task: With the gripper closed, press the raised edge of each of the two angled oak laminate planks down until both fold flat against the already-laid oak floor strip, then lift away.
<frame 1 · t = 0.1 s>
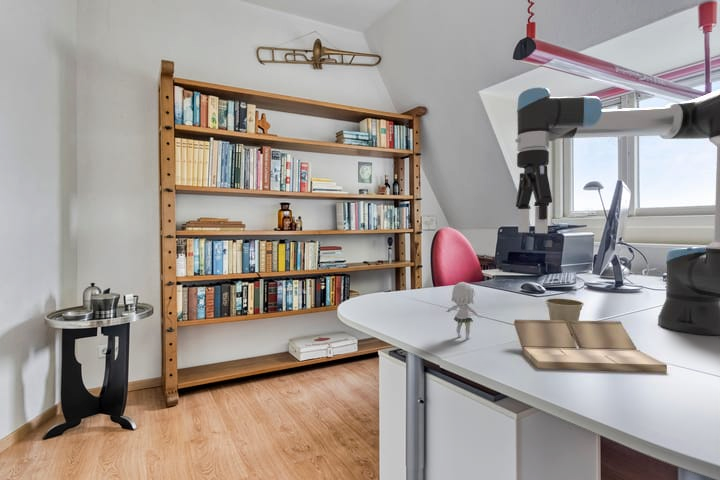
hand: (531, 233, 98), 28 cm above the table, fingers open, 13 cm apart
flower pot: (563, 333, 104), on the table
plank a: (600, 335, 89), point 3 cm above the table, hinge at 35.0°
plank b: (543, 334, 90), point 3 cm above the table, hinge at 35.0°
figurine: (462, 339, 99), on the table
floor strip: (590, 362, 81), on the table
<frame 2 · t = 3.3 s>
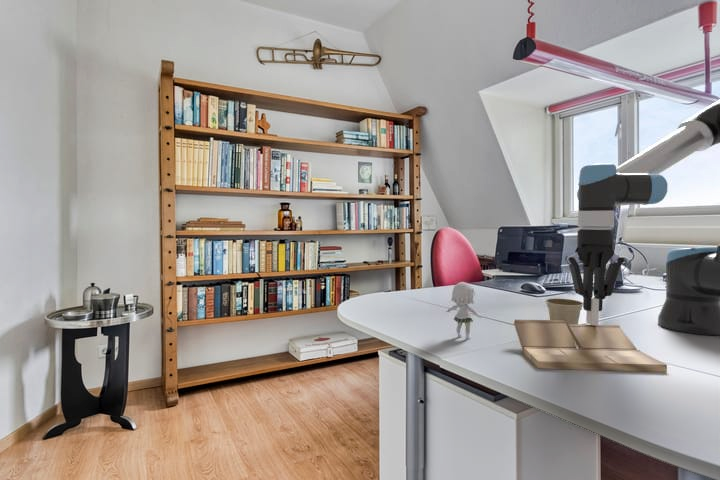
hand: (592, 323, 93), 5 cm above the table, fingers closed
plank a: (600, 338, 89), point 3 cm above the table, hinge at 26.1°, touching gripper
everything else where it was.
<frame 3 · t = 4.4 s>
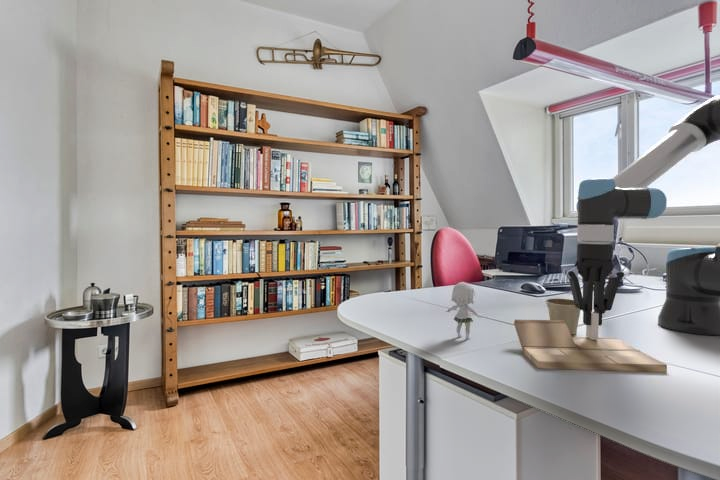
hand: (592, 338, 92), 2 cm above the table, fingers closed
plank a: (599, 345, 90), point 1 cm above the table, hinge at 1.8°, touching gripper
everything else where it was.
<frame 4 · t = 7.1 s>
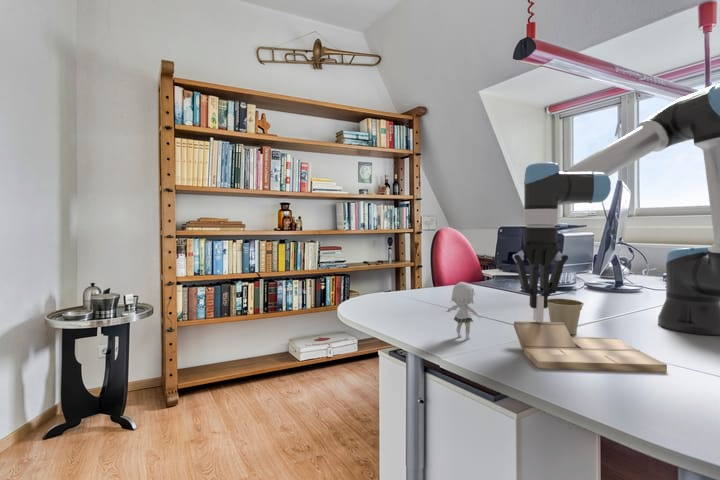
hand: (538, 320, 94), 6 cm above the table, fingers closed
plank a: (599, 345, 90), point 1 cm above the table, hinge at 1.7°
plank b: (543, 335, 90), point 3 cm above the table, hinge at 30.3°, touching gripper
everything else where it was.
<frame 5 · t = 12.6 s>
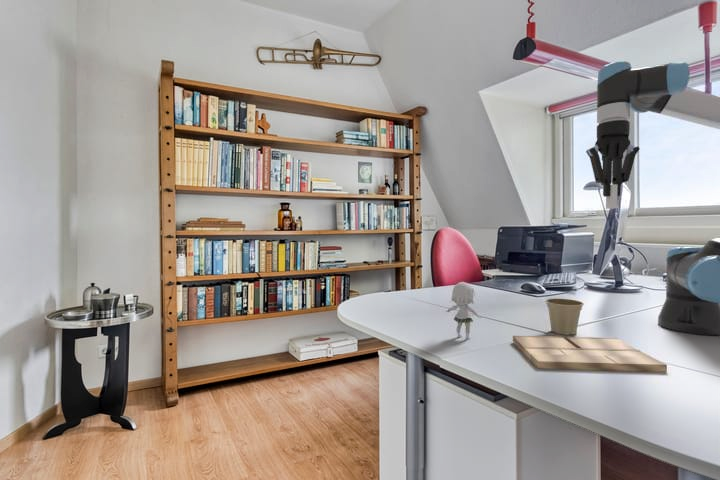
hand: (611, 208, 104), 34 cm above the table, fingers closed
plank b: (543, 344, 91), point 1 cm above the table, hinge at 2.0°
everything else where it was.
at the end: plank a at +2° (first picture: +35°); plank b at +2° (first picture: +35°) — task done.
